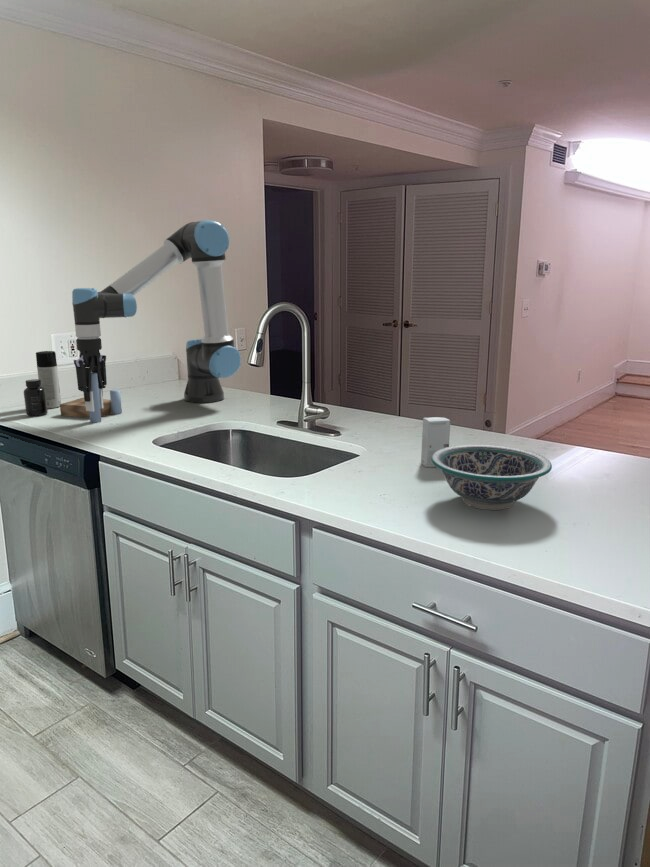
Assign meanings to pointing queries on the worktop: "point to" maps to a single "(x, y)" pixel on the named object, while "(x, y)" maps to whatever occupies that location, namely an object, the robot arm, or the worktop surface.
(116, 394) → the short dowel
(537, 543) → the worktop surface
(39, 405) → the supplement bottle
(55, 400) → the spray can
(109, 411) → the collar block
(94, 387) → the long dowel
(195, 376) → the robot arm
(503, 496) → the bowl
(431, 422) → the skincare box
